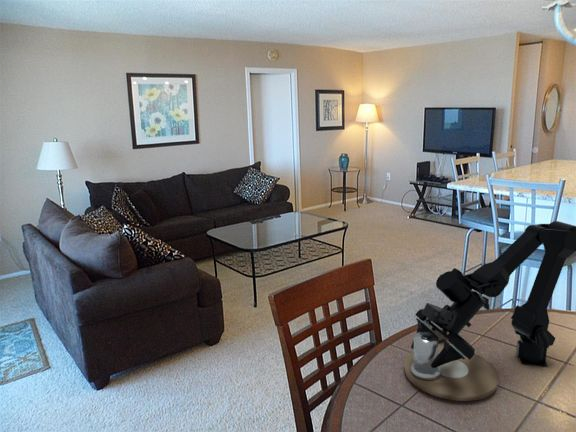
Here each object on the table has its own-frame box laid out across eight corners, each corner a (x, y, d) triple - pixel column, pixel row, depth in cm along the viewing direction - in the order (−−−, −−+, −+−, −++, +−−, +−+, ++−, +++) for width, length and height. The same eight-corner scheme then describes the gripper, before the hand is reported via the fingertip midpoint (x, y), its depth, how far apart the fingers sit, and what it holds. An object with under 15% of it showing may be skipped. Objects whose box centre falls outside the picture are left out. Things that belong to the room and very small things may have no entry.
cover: (439, 366, 117) (440, 331, 115) (441, 382, 111) (441, 346, 108) (411, 363, 119) (411, 329, 117) (411, 379, 113) (411, 343, 110)
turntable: (489, 357, 125) (490, 349, 124) (505, 410, 103) (506, 400, 103) (405, 348, 131) (405, 341, 130) (403, 396, 110) (403, 387, 109)
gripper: (422, 280, 120) (384, 324, 120) (467, 309, 102) (422, 360, 102) (446, 303, 124) (410, 345, 123) (493, 334, 106) (450, 384, 106)
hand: (421, 357), depth 113 cm, fingers open, 9 cm apart
